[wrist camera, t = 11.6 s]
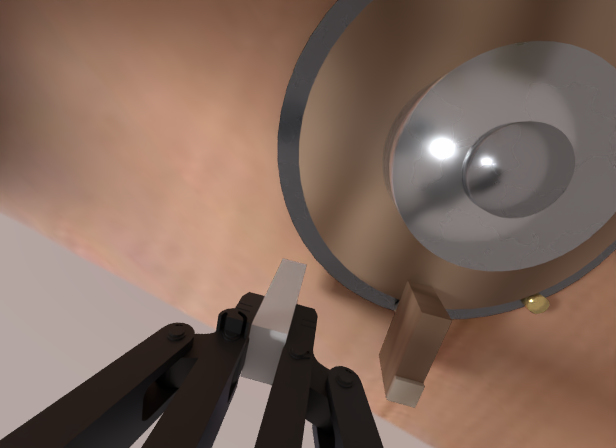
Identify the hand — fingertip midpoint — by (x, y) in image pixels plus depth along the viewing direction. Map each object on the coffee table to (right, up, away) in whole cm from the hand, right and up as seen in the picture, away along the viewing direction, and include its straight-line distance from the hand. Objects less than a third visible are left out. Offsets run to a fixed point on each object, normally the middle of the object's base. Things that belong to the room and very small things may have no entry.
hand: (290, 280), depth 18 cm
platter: (+10, +5, -1) cm, 11 cm away
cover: (+10, +7, -2) cm, 12 cm away
